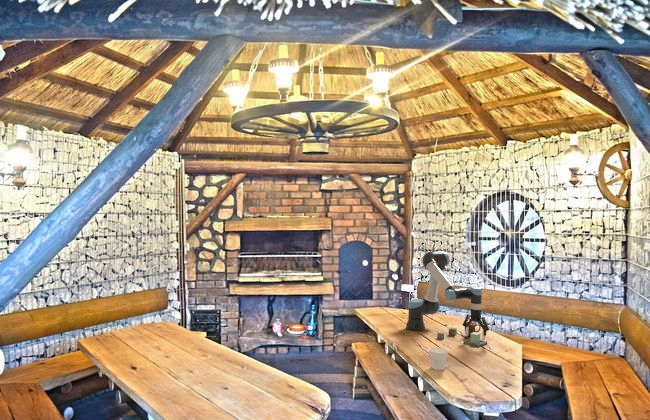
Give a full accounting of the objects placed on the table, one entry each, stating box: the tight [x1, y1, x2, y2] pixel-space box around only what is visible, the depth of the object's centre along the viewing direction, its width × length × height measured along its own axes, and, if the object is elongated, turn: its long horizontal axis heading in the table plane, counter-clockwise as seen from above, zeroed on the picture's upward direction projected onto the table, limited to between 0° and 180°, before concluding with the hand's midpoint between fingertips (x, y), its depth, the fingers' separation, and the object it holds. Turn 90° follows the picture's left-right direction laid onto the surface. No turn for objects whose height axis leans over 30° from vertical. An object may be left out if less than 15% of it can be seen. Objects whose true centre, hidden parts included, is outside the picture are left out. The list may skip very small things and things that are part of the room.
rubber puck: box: [436, 331, 445, 340], centre depth 390 cm, size 5×5×4 cm
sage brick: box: [469, 332, 481, 344], centre depth 377 cm, size 5×5×7 cm
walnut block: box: [448, 327, 458, 337], centre depth 401 cm, size 5×5×5 cm
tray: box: [463, 338, 488, 348], centre depth 377 cm, size 12×12×2 cm
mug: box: [464, 321, 482, 338], centre depth 397 cm, size 12×9×10 cm
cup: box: [428, 346, 449, 371], centre depth 322 cm, size 12×12×11 cm
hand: (475, 337), depth 377 cm, fingers open, 13 cm apart
